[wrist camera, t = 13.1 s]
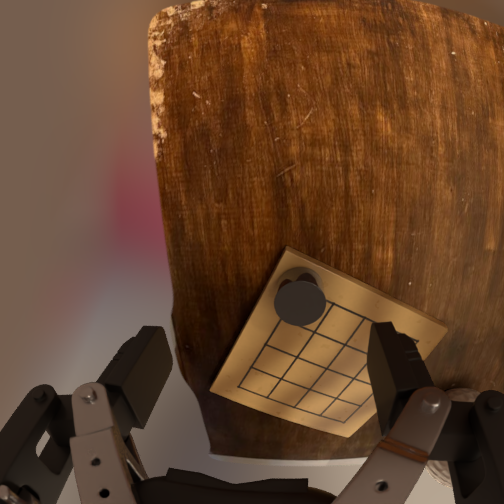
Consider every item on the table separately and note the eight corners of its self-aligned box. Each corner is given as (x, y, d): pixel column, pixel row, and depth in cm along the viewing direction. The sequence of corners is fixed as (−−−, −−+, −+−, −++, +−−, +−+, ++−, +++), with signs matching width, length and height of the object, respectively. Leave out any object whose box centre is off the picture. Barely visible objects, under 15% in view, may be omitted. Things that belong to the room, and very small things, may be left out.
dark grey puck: (268, 297, 32) (265, 314, 29) (289, 258, 30) (288, 272, 27) (309, 316, 32) (310, 333, 29) (332, 279, 30) (336, 294, 27)
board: (211, 383, 39) (209, 391, 38) (286, 245, 31) (285, 250, 30) (347, 430, 40) (348, 438, 38) (444, 322, 32) (449, 329, 30)
